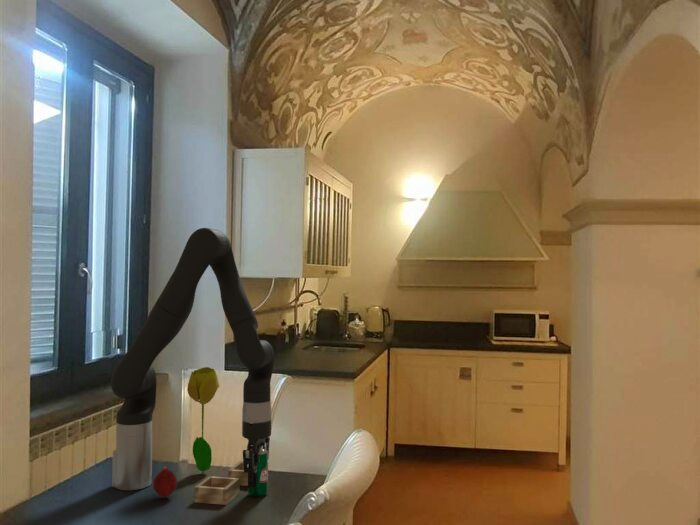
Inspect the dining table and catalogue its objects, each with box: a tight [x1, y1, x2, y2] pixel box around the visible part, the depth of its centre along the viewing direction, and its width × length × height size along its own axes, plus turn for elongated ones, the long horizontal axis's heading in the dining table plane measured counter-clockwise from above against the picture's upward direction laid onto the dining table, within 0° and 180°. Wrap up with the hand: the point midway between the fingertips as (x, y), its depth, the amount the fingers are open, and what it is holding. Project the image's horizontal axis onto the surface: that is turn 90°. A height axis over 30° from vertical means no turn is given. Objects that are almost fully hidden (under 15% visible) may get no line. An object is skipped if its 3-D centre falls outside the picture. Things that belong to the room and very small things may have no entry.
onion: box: [152, 465, 178, 499], centre depth 156 cm, size 6×6×8 cm
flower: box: [187, 366, 220, 474], centre depth 176 cm, size 9×8×30 cm
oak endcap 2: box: [227, 460, 248, 487], centre depth 170 cm, size 8×8×4 cm
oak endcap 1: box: [194, 475, 241, 506], centre depth 157 cm, size 8×8×4 cm
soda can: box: [247, 447, 269, 498], centre depth 159 cm, size 5×5×12 cm
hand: (256, 483), depth 159 cm, fingers open, 5 cm apart
